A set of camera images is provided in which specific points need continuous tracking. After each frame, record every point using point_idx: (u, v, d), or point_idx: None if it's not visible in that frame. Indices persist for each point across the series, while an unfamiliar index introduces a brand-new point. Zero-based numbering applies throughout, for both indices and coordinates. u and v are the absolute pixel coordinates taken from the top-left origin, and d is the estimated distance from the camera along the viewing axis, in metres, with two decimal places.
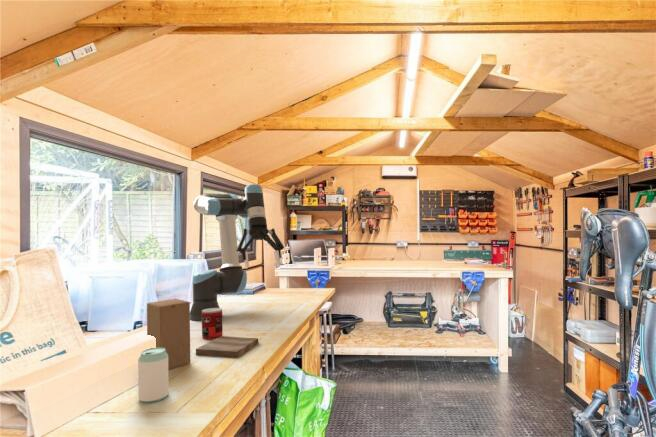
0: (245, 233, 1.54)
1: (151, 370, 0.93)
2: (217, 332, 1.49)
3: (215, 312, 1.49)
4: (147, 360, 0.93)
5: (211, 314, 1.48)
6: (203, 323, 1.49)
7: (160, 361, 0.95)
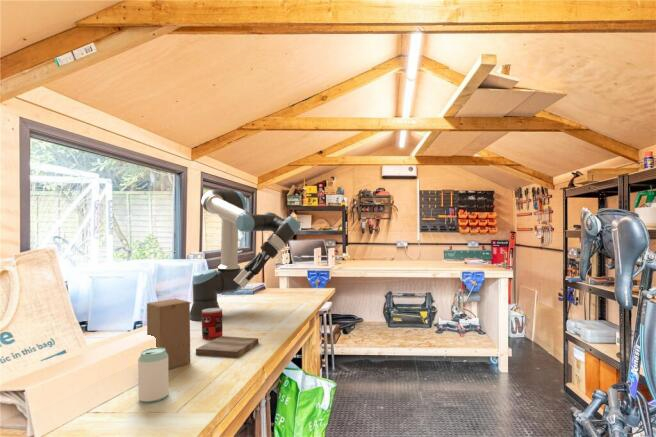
0: None
1: (151, 370, 0.93)
2: (217, 332, 1.49)
3: (215, 312, 1.49)
4: (148, 360, 0.93)
5: (211, 314, 1.48)
6: (203, 323, 1.49)
7: (160, 361, 0.95)
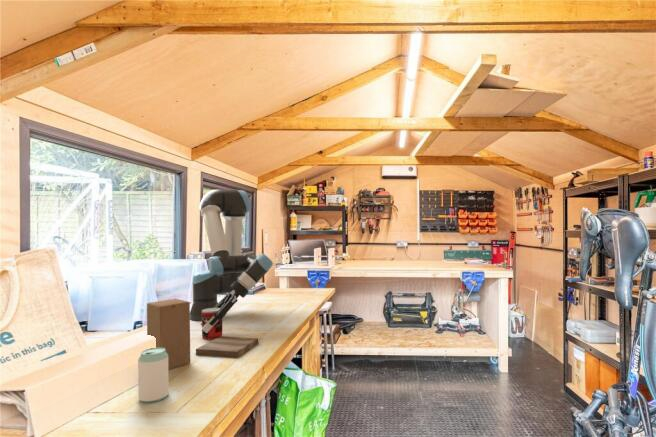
0: None
1: (151, 370, 0.93)
2: (217, 332, 1.49)
3: (215, 312, 1.49)
4: (148, 360, 0.93)
5: (211, 314, 1.48)
6: (203, 323, 1.49)
7: (160, 361, 0.95)
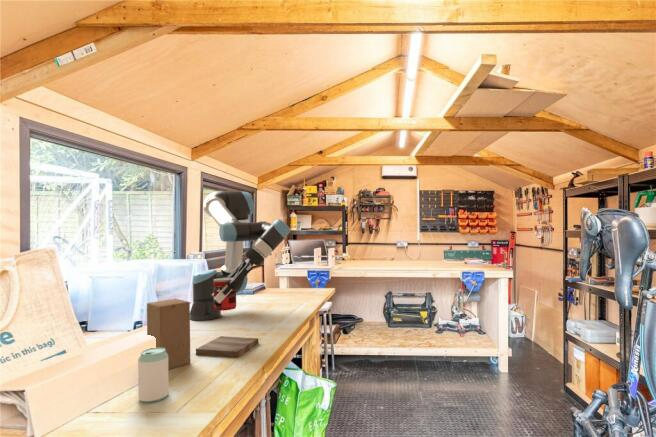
0: None
1: (151, 370, 0.93)
2: (231, 303, 1.36)
3: (228, 281, 1.35)
4: (148, 360, 0.93)
5: (224, 283, 1.35)
6: (215, 293, 1.35)
7: (160, 361, 0.95)
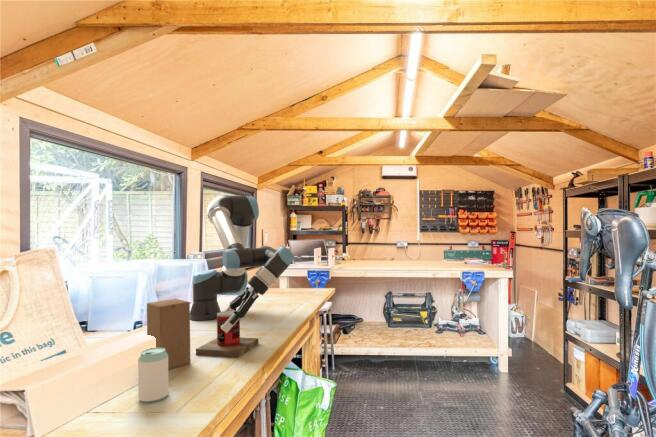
0: None
1: (151, 370, 0.93)
2: (235, 338, 1.33)
3: None
4: (147, 360, 0.93)
5: (227, 318, 1.32)
6: (219, 328, 1.33)
7: (160, 361, 0.95)
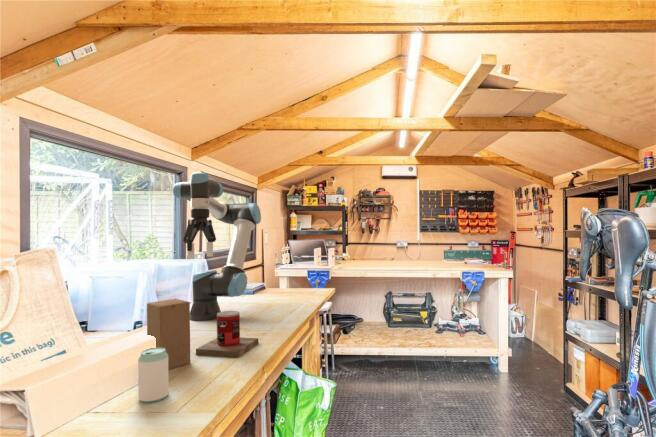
0: (193, 224, 1.55)
1: (151, 370, 0.93)
2: (235, 338, 1.33)
3: (232, 316, 1.33)
4: (148, 360, 0.93)
5: (227, 318, 1.32)
6: (218, 328, 1.33)
7: (160, 361, 0.95)
